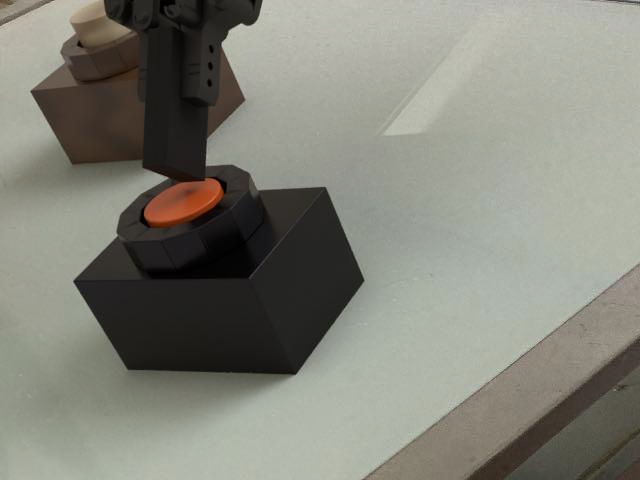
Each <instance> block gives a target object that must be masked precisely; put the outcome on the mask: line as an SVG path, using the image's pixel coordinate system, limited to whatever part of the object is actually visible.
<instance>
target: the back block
mask: <svg viewBox="0 0 640 480" xmlns="http://www.w3.org/2000/svg"><path fill="white" fill-rule="evenodd" d="M59 51H60V52H59V54H60V55H61V57H62V59H63V61H64V63H63V64H61V65H60V66H59V67H58V68H57V69H55V70H54V71H53V72H51V73H50V74H49V75H48V76H47V77H46V78H44V79H43V80H42V81H40V82H39V83H38V84H36V85H35V86H34V87H33V88H32V89H30V91H29V92H30V94H31V96H32V97H33V99H34V101H35V103H36V104H37V106H38V108H39V110H40V111H41V113H42V115H43V117H44V119H45V120H46V122H47V124H48V125H49V128H50V129H51V130H52V132H53V134H54V136H55V137H56V139H57V141H58V142H59V145H60V146H61V148H62V150H63V152H64V153H65V155H66V157H67V158H68V160H69V161H70V164H71V165H83V164H84V165H85V164H98V163H99V164H100V163H114V162H128V161H129V162H130V161H142V160H143V138H144V117H145V104H143V103H141V102H140V101H139V97H138V94H137V81H138V72H139V71H138V59H139V37H138V34H137V33H135V32H133V31H130V32H129V33H127V34H126V35H124V36H122V37H120V38H118V39H116V40H114V41H111V42H108V43H105V44H102V45H99V46H96V47H88V48H83V46H82V44H81V42H80V40H79V39H78V37H77V35H76V33H74V34H73V35H71V37H69V38H68V39H67V40H65V41H64V42H63V44H62V46H61V48H60V50H59ZM219 75H220V82H219V84H220V86H219V97H218V100H217V103H216V105H215V106H211V107H209V110H208V130H207V139H209V137H210V136H212V134H214V132H215V131H216V130H218V128H220V127H221V125H222V124H224V122H225V121H227V119H228V118H230V117H231V116H232V115H233V114H234V112H236V111H237V109H239V107H240V106H241V105H243V103H245V102H246V98H245V95H244V93H243V91H242V89H241V87H240V84H239V82H238V79H237V78H236V75H235V73H234V71H233V68H232V66H231V64H230V61H229V59H228V57H227V55H226V52H225V50H224V48H223V45H222V46H221V66H220V74H219Z"/></svg>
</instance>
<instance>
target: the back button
mask: <svg viewBox="0 0 640 480" xmlns="http://www.w3.org/2000/svg"><path fill="white" fill-rule="evenodd" d="M68 20H69V21H68V22H69V24H70V25H71V28H72V29H73V32H74V34H76V35H77V37H78V39H79V40H80V42H81V44H82V46H83V48H88V47H96V46H99V45H102V44H105V43H108V42H111V41H114V40H116V39H118V38H120V37H122V36H124V35H126V34H127V33H129V32H130V31H132V30H130V29H128V28H126V27H124V26H122V25H120V24H118V23H116V22H114V21H112V20H110V19H109V18H108V17H107V16H106V13H105V7H104V0H96V1H94V2H92V3H89V4H87V5H85V6H83V7H81V8H80V9H78V10H77V11H76V12H74V13H73V14H72V15H71V16H70V17H69V19H68Z"/></svg>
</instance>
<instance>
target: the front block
mask: <svg viewBox="0 0 640 480" xmlns="http://www.w3.org/2000/svg"><path fill="white" fill-rule="evenodd" d="M205 178H211V179H214V180H216V181H218V182H219V183H220V185H221V187H222V189H223V191H224V194H225V195H224V196H223V197H222V198H221V200H220V201H219V202H218V203H217V204H216V205H215V206H214V207H213V208H211V209H210V210H208V211H206V212H205V213H203V214H201V215H199V216H198V217H196V218H194V219H193V220H191V221H188V222H185V223H181V224H178V225H175V226H172V227H167V228H150V226H149V224H148V222H147V221H146V219H145V216H144V211H145V208H146V206H147V205H148V204H149V203H150V201H151V200H153V199H154V198H155V197H156V196H157V195H159V194H160V193H162V192H163V191H165V190H167V189H168V188H170V187H172V186H175V185H177V184H179V183H181V182H179V181H176V180H173V179H171V178H168V177H167V179H165V180H162V181H161V182H159V183H158V184H156V185H154V186H152V187H151V188H149V189H147V190H145V191H143V192H141V193H140V194H139V195H138V196H137V197H136V198H135V199H134V200H133V201H132V202H131V203H130V204H129V205H128V206H126V208H125V209H124V210H123V211H122V212H121V213H120V214H119V217H118V221H117V226H116V230H115V232H116V233H115V234H116V235H117V236H116V237H115V238H114V239H113V240H112V241H111V242H110V243H108V245H107V246H106V247H105V248H104V249H102V250H101V252H100V253H99V254H98V255H97V256H96V257H95V258H94V259H93V260H92V261H90V263H89V264H88V265H87V266H86V267H85V268H83V270H82V271H81V272H80V273H79V274H78V275H77V276H76V277H75V278H74V279H73V280H72V283H73V285H74V286H75V287H76V289H77V291H78V292H79V294H80V295H81V297H82V299H83V300H84V302H85V303H86V306H87V307H88V308H89V310H90V312H91V313H92V315H93V316H94V318H95V320H96V322H97V323H98V325H99V326H100V328H101V329H102V331H103V332H104V335H105V336H106V338H107V339H108V340H109V342H110V344H111V346H112V347H113V348H114V350H115V352H116V353H117V355H118V357H119V358H120V360H121V361H122V363H123V365H124V366H125V368H126V370H128V371H154V370H155V371H159V372H191V373H192V372H193V373H222V372H225V374H255V375H257V374H258V375H259V374H260V375H291V376H292V375H294V376H295V375H298V373H299V372H300V370H301V369H302V367H303V366H304V365H305V363H306V362H307V361H308V359H309V358H310V357H311V355H312V354H313V352H314V351H315V350H316V348H317V347H318V346H319V345H320V343H321V341H322V340H323V339H324V337H325V336H326V334H327V333H328V332H329V330H330V329H331V328H332V327H333V325H334V324H335V322H336V321H337V319H338V318H339V317H340V316H341V314H342V313H343V311H344V310H345V309H346V307H347V306H348V305H349V303H350V302H351V300H352V299H353V298H354V296H355V295H356V293H357V292H358V291H359V289H360V288H361V287H362V285H363V284H364V282H365V277H364V275H363V272H362V270H361V269H360V266H359V263H358V261H357V258H356V256H355V253H354V251H353V248H352V246H351V244H350V242H349V239H348V237H347V234H346V232H345V229H344V227H343V225H342V222H341V220H340V218H339V214H338V213H337V210H336V208H335V206H334V203H333V200H332V198H331V195H330V193H329V190H328V189H327V187H326V186H311V187H293V188H273V189H258V188H257V186H256V184H255V181H254V179H253V177H252V175H251V173H250V172H248V171H246V170H245V169H244V168H243V169H242V168H241V167H238V166H237V165H234V164H231V163H230V164H218V165H217V164H216V165H215V164H214V165H206V171H205ZM229 372H230V373H229ZM231 372H232V373H231Z"/></svg>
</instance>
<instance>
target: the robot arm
mask: <svg viewBox="0 0 640 480" xmlns="http://www.w3.org/2000/svg"><path fill="white" fill-rule="evenodd" d="M263 1H264V0H104V7H105V13H106V16H107V17H108V18H109V19H110V20H112V21H114V22H116V23H118V24H120V25H122V26H124V27H126V28H128V29H130V30H132V31H133V32H135V33H137V34H138V37H139V59H138V71H139V72H138V81H137V94H138V97H139V101H140V102H141V103H143V104H145V117H144V138H143V160H141V162H142V163H141V168H142V169H144V170H147V171H149V172H151V173H152V172H153V173H155V174H157V175H159V176H162V177H165V178H167V179H168V178H171V179H173V180H176V181H179V182H181V183H183V182H199V181H205V171H206V166H207V152H208V151H207V148H208V138H207V130H208V110H209V107H211V106H215V105H216V103H217V100H218V97H219V86H220V84H219V82H220V75H219V74H220V66H221V46H222V47H223V43H224V41H226V40H227V37H228V35H229V33H230V31H232V29H235V28H236V27H238V26H240V25H241V24H242V25H244V26H246V27H251V26H253V25H254V24H256V22H258V20H259V17H260V15H261V11H262V5H263Z"/></svg>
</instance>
